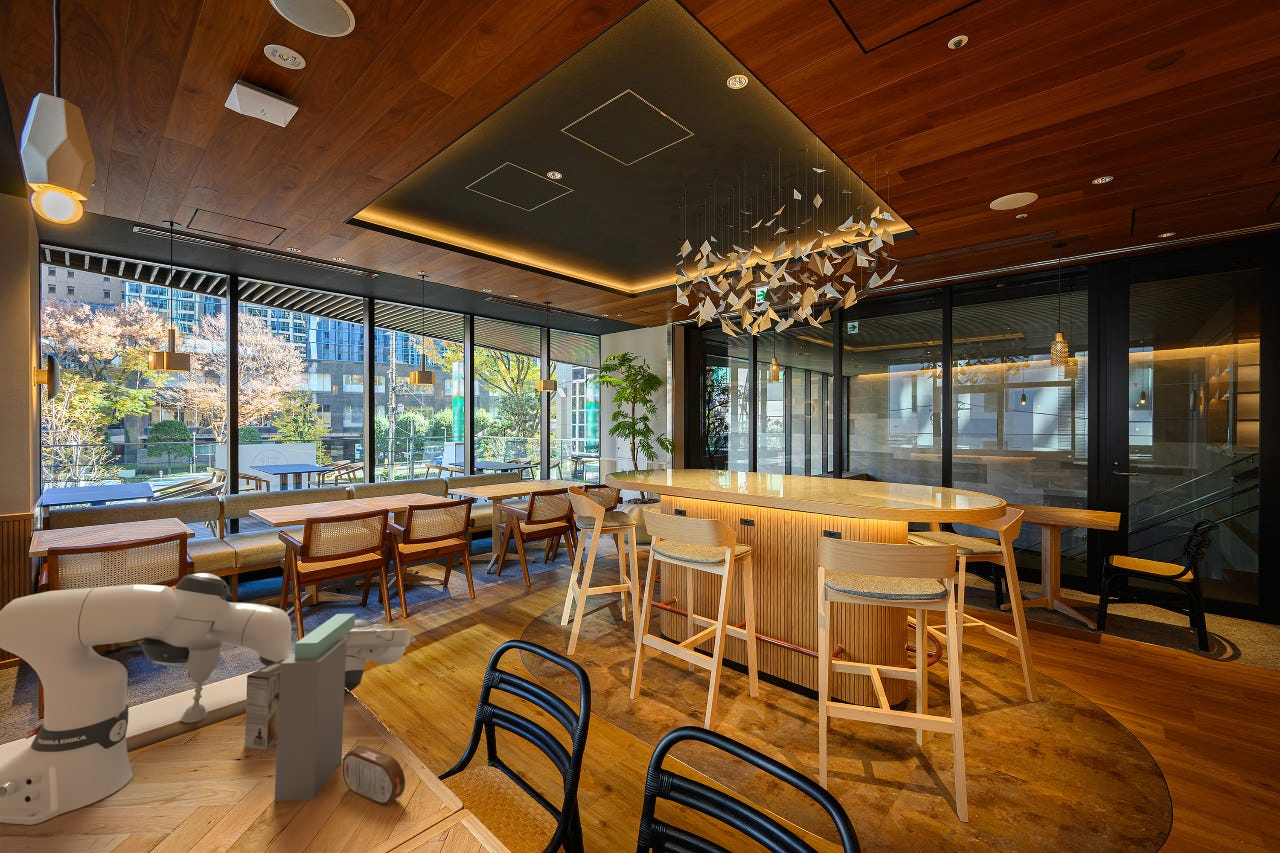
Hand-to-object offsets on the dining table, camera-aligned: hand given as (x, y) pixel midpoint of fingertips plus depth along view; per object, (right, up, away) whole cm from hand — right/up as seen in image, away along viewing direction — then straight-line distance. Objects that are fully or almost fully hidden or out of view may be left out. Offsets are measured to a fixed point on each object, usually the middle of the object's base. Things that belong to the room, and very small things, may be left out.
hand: (359, 633), depth 128 cm
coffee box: (-16, -21, -8) cm, 28 cm away
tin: (+17, -21, -27) cm, 38 cm away
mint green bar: (+2, +5, -17) cm, 18 cm away
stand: (+2, -21, -23) cm, 31 cm away
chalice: (-41, -21, 0) cm, 46 cm away
